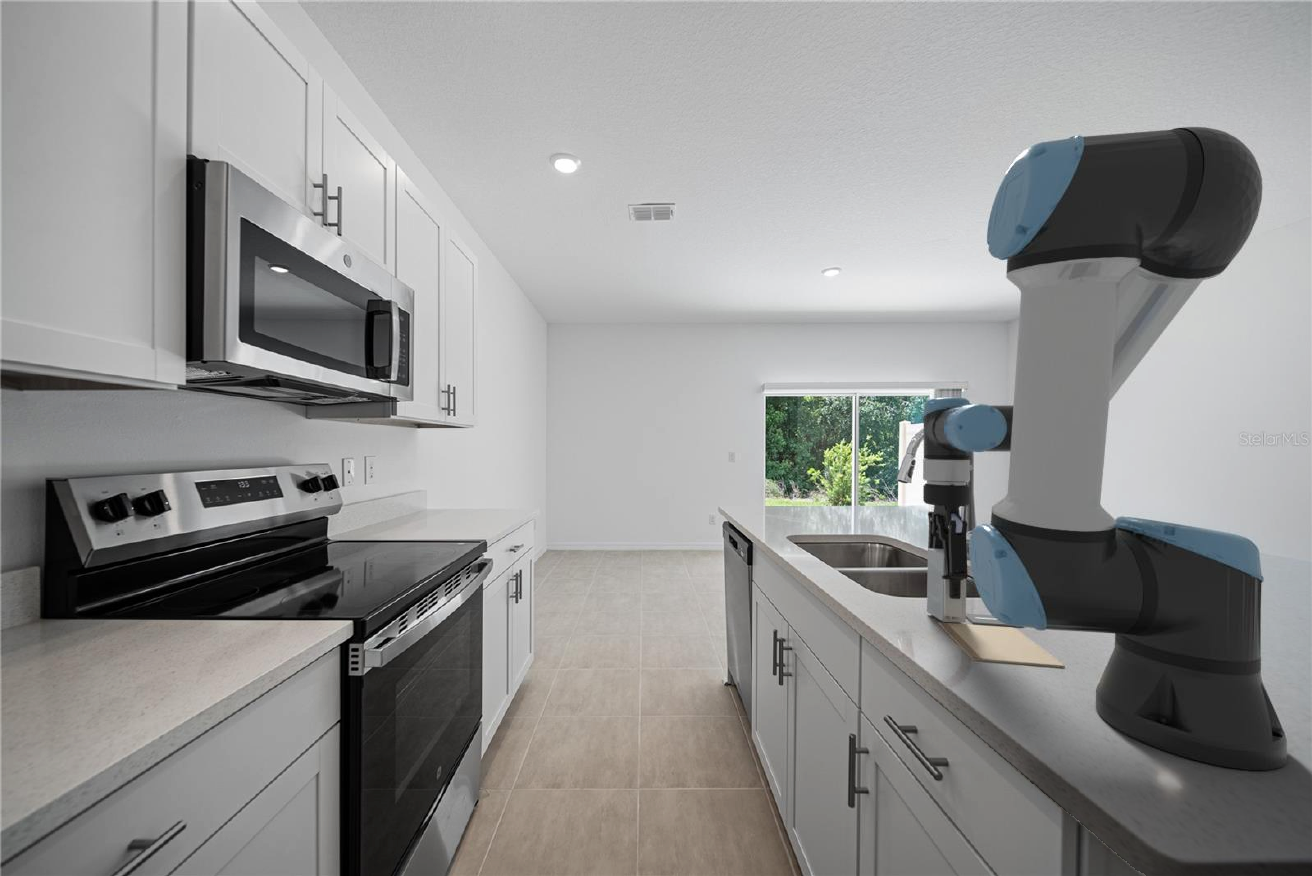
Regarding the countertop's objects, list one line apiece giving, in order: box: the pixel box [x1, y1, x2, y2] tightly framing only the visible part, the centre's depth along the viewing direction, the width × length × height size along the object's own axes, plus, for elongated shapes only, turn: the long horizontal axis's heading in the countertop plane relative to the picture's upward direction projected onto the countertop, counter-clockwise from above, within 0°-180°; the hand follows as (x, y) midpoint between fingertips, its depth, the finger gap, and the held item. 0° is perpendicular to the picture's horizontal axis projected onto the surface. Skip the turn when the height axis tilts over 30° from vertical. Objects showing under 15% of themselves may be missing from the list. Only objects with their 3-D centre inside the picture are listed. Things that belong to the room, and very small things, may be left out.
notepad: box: [938, 621, 1066, 668], centre depth 85 cm, size 16×12×1 cm
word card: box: [966, 613, 1021, 628], centre depth 96 cm, size 5×8×1 cm, turn 78°
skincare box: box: [926, 548, 967, 623], centre depth 97 cm, size 6×4×12 cm
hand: (946, 609), depth 97 cm, fingers open, 7 cm apart
